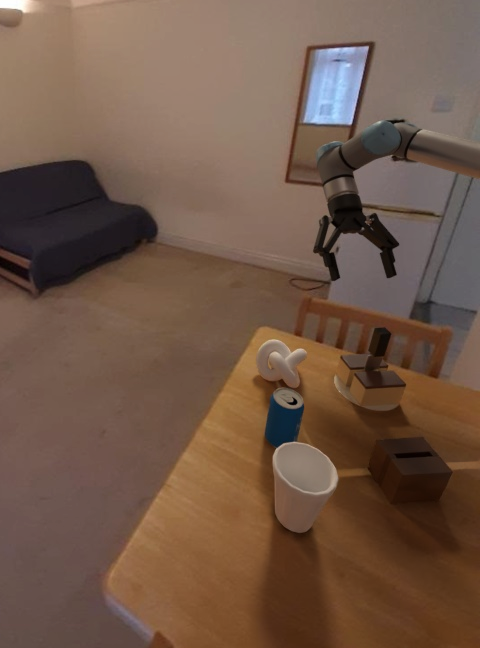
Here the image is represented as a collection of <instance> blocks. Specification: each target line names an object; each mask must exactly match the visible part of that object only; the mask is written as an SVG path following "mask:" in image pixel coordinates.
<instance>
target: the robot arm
mask: <svg viewBox="0 0 480 648" xmlns="http://www.w3.org/2000/svg"><path fill="white" fill-rule="evenodd" d="M389 156H395V157H399V158H403V159H406V160H410V161H414V162H417V163H421V164H424V165H428V166H431V167H435V168H437V169H442V170H446V171H449V172H452V173H456V174H459V175H464V176H466V177H470V178H473V179H477V180H480V141H478V140H472V139H468V138H463V137H460V136H454V135H451V134H446V133H441V132H437V131H434V130H428V129H424V128H420V127H417V126H416V124H414V123H411V122H403V121H400V122H396V123H392V122H391V121H387V120H385V119H381V120H378V121H376V122H374V123H373V124H371V125H369V126H367V127H365V129H363V130H362V131H361V132H359V133H358V134H356V135H354V136H353V137H351V138H350V139H349V140H347V141H345V142H342V141H337V140H335V141H330V142H328V143H326V144H323V145H321V146H320V147H318V148H317V150H316V151H315V161H316V169H317V171H318V174H319V178H320V180H321V184H322V185H321V186H322V190H323V194H324V197H325V202H326V203H327V204H326V206H327V211H328V214H329V215H327V214H324V215H323V216H321V218H320V219H319V220H318V223H319V224H318V225H319V228H318V232H317V235H316V239H315V242H314V246H313V248H312V252H313V254H318V255H319V256H320V257H321V258H322V261H323V265H324V267H325V268H328V273H329V276H330V280H331V282H336V281H337V280H339V279H341V273H340V270H339V266H338V263H337V258H336V254H335V251H332V249H333V247H334V246H335V244H336V243H337V242H338V240H339V238H340V236H341V235H342V234H343V235H348V234H352V235H354V234H355V235H356V234H358V235H359V236H363V237H364V238H365V239H366V240H367V241H369V242H370V243H371V244H372V245H374V246H375V247H377V248H378V249H379V250H380V251H381V252H379V257H380V260H381V264H382V267H383V270H384V275H385V277H386V279H391V278H394V277H395V276H397V275H398V273H397V270H396V267H395V263H396V258H395V254H394V249H397V247H399V246H400V242H399V241H398V240H397V239H396V237H394V236H393V234H392V233H391V232H390V231H389V230H388V228H386V226H385V225H384V224H383V222H381V220H380V218H379V215H378V214H377V212H373V213H371V214H368V215H365V213H364V211H363V203H362V200H361V197H360V195H359V193H360V191H359V188H358V185H357V182H356V179H355V175H354V172H355V171H357V170H359V169H361V168H362V167H365V166H366V165H368V164H370V163H371V162H373V161H375V160H378V159H383V158H385V157H389ZM330 224H331V225H332V226H333V227H334V229H333V231H332V232H331V235H330V237H329V239H328V240H327V241H326V237H327V235H328V234H327V233H328V231H329V227H330ZM325 241H326V243H325Z"/></svg>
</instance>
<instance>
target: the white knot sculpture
mask: <svg viewBox="0 0 480 648" xmlns="http://www.w3.org/2000/svg"><path fill="white" fill-rule="evenodd" d="M307 356H308V353H307V351H306V350H305V349H304V348H297V349H295V350H294V351H291V349H290V348H289V347H288V345H287V344H285V342H283V341H281V340H280V339H269V340H266V341H265V342H264V343H262V344H261V346H259V349H258V350H257V353H256V357H255V366H256V369H257V373H258V374H259V375H260V376H261V378H263V379H264V380H266V381H268V382H279V381H280V380H282V381H283V382H284V383H285V384H286V386H287V387H288V388H290V389H297V388H298V387H300V383H301V379H300V376H299V371H298V369H297V366H299V365H300V364H301V363H302V362H304V361H305V360H306V359H307ZM270 367H271V368H270Z"/></svg>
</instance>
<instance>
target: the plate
mask: <svg viewBox="0 0 480 648" xmlns="http://www.w3.org/2000/svg"><path fill="white" fill-rule="evenodd" d="M333 382H334V386H335V388H336V390H337V391H338V393H339V394H341V395H342V397H344V398H345V399H346V400H347V401H349V402H351V403H352V404H353V405H354V404H355V405H356V406H359V407H360V408H361V407H362V408H364V409H367V410H372V411H380V412H386V411H391V410H394V409H395V408H397V407H398V406H399V405H400V404H390V405H373V406H360V405H359V404H358V402H357V401H356V400H355V399H354V397H353V396H352V395H351V393H350V392H349V391H350V388H351V386H350V387H345V385H344V384H343V383H342V381H341V380H340V379H339V377H338V376H337V375H336V374H335V375H334V377H333Z"/></svg>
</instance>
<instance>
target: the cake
mask: <svg viewBox="0 0 480 648" xmlns="http://www.w3.org/2000/svg"><path fill="white" fill-rule="evenodd" d="M368 355H371V354H370V353H355V354H340V356H339V359H338V364H337V367H336V371H335V375H337V376H338V377H339V379H340V380H341V381H342V383H343V384H344V385H345V387H350V386H351V388H350V391H349V392H350V393H351V395H352V396H353V397H354V399H355V400H356V401H357V402H358V404H359V405H360V406H359V405H358V406H359V407H361V406H373V405H390V404H399V405H400V404H401V400H402V398H403V395H404V393H405V390H406V387H407V383H406V382H405V380H403V379H402V378H401V376H399V375H398V374H397V373H396V371H394V370H393V369H391V370H388V369H389V367H390V366H389V364H388V363H387V362H386V361H385V360H384V359H383V358H382V361H381V364H380V367H379V371H372V372H363V370H364V367H365V364H366V360H367V357H368Z"/></svg>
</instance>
